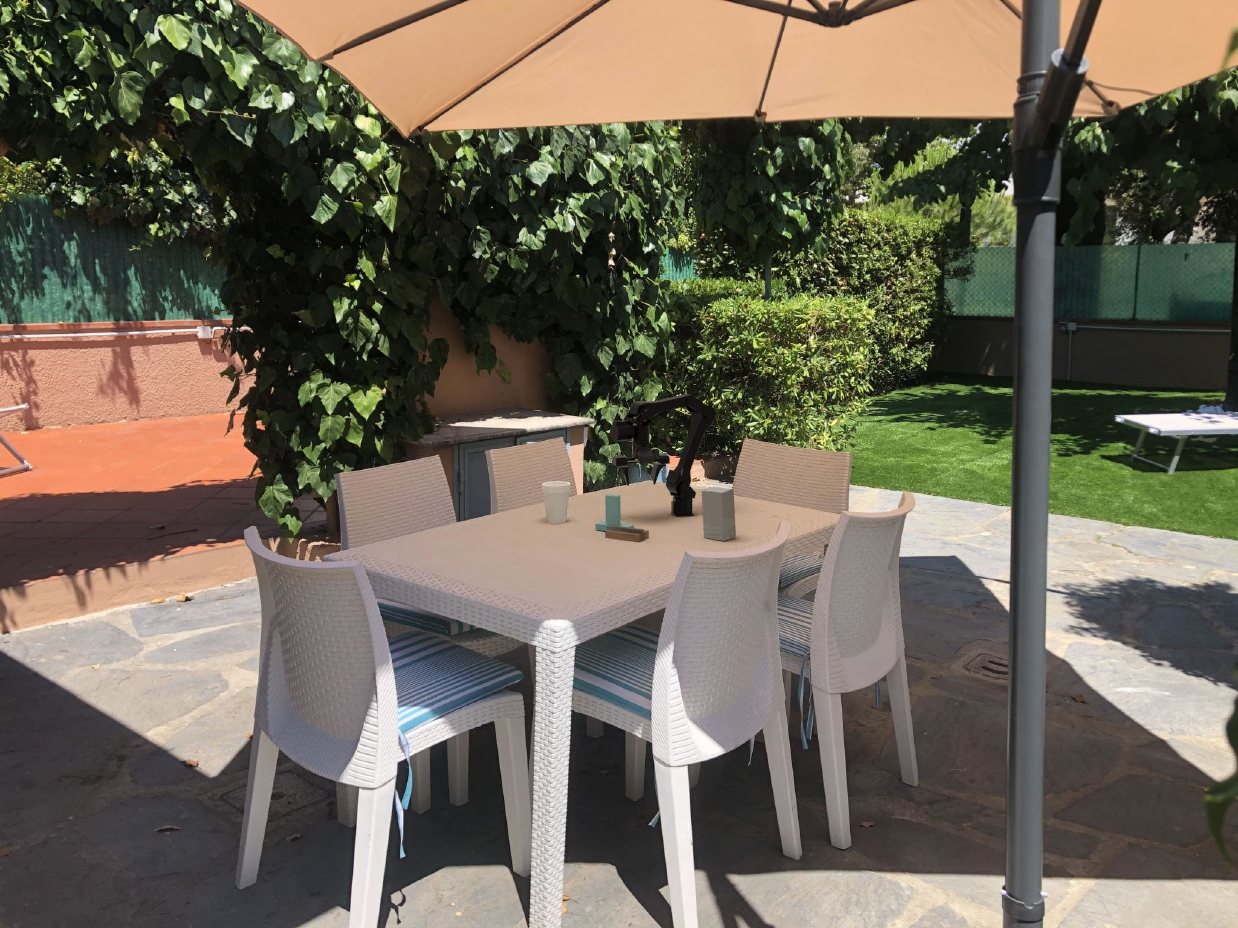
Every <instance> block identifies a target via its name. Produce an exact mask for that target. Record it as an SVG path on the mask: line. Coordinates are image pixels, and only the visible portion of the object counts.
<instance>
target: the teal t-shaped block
mask: <svg viewBox="0 0 1238 928" xmlns="http://www.w3.org/2000/svg"><path fill="white" fill-rule="evenodd" d="M604 499H605V500H604V501H605V520H604V521H603V520H601V521H599V522H596V523H594V524H595V525H594V527H595V528H594V529H595V530H596V531H605V530H606V526H608V525H614V526H622V527H630V528H635V525H634V524H628V523H622V522H621V521H622V520H621V519H622V518H621V517H622V515H621V511H622V510H621V495H620V494H611V493H608V494H605V498H604Z"/></svg>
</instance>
